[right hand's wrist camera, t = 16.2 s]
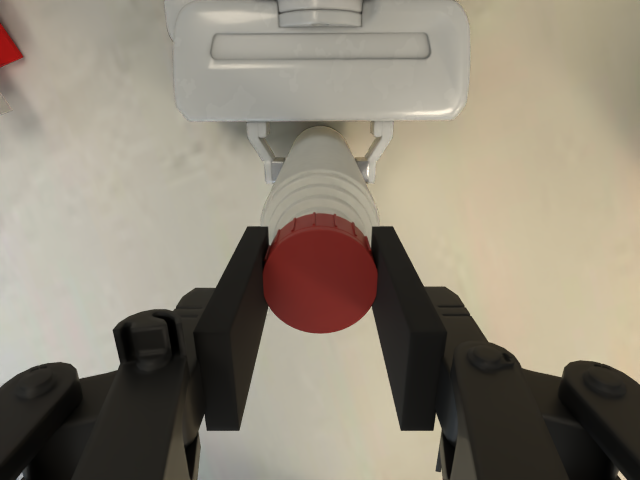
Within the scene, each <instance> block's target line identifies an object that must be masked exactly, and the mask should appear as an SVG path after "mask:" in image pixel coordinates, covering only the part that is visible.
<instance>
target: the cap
mask: <svg viewBox="0 0 640 480" xmlns="http://www.w3.org/2000/svg"><path fill="white" fill-rule="evenodd" d="M264 261H265V265H264V268H263V289H264V297H265V300H266V302H267V304H268V306H269V307H270V309H271V310H272V311H273V313H274V314H275V315H276V316H277V317H278V318H279V319H280V320H282V321H283V322H284V323H286V324H287V325H289V326H291V327H293V328H295V329H298V330H301V331H305V332H309V333H331V332H336V331H339V330H343V329H345V328H347V327H349V326H351V325H353V324H354V323H356V322H357V321H359V320H360V319H361V318H362V317H363V316H364V315H365V314H366V313H367V312H368V310H369V309H370V308H371V306H372V304H373V303H374V300H375V298H376V293H377V277H378V272H377V268H376V264H375V261H374V258H373V255H372V250H371V247H370V244H369V241H368V237H367V236H364V234H363V233H362V232H361V231H360V230H359V229H358V228H357V227H356V226H355V223H354V222H352V223H351V222H349V221H348V220H346V219H344V218H342V217H339V216H336V214H334V215H332V214H326V213H315V212H313V214H308V215H304V216H301V217H298V218H296V217H295V218H293V220H292V221H291V222H289V223H288V224H286V225H285V226H284V227H283V228H282V229H281V230H280V229H279V230H278V231H277V235H276V236H275V238H274V239H273V241H272V243H271V245H269V246H268V250H267V253H266V256H265V259H264Z"/></svg>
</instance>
